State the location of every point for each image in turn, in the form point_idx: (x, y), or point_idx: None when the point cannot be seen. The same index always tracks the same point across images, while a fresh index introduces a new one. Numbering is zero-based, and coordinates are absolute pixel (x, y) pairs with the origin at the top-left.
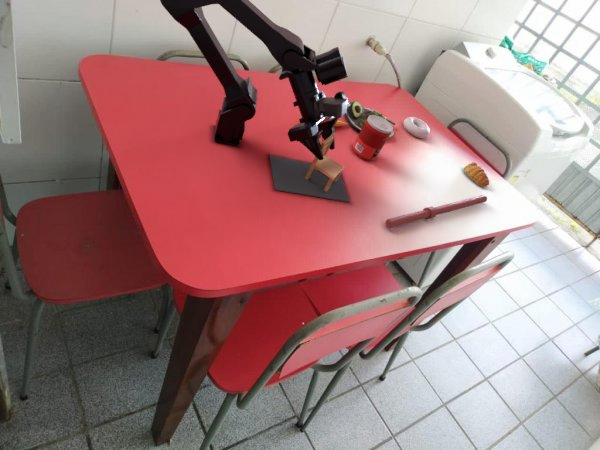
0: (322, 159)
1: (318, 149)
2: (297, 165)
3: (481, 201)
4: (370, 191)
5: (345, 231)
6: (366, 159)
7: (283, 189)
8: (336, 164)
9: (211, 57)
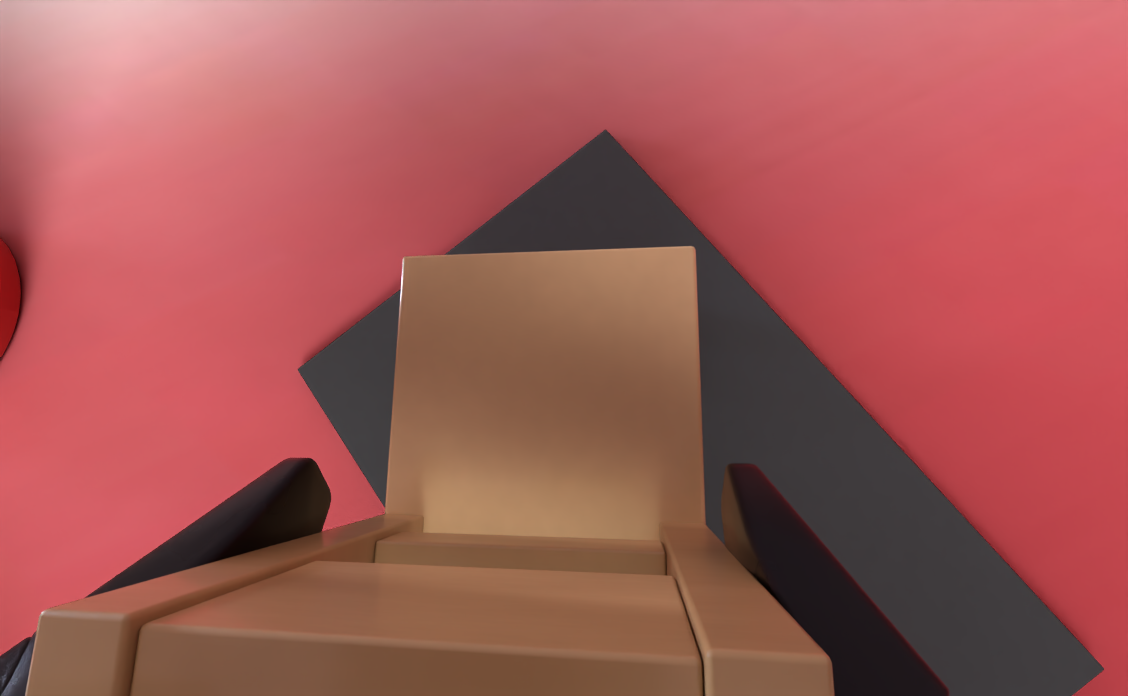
0: (753, 469)
1: (911, 672)
2: None
3: None
4: (345, 86)
5: (927, 17)
6: (6, 258)
7: (1025, 604)
8: (442, 336)
9: None
